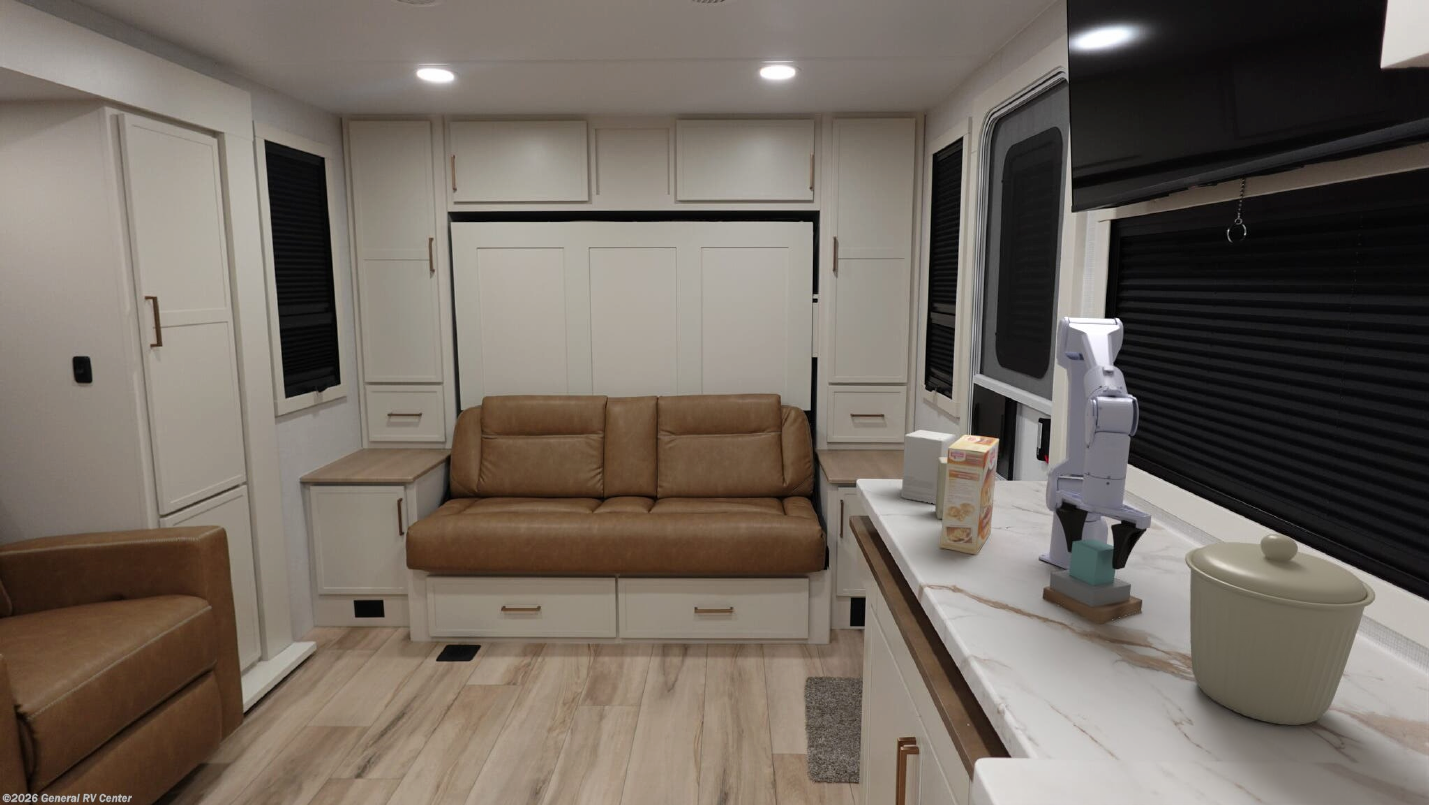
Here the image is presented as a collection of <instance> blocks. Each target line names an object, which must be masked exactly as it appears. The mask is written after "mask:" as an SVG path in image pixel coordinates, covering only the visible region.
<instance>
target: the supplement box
mask: <svg viewBox="0 0 1429 805" xmlns="http://www.w3.org/2000/svg"><path fill="white" fill-rule="evenodd" d="M956 435H957V434H953V433H946V432H945V433H944V432H940V431H939V432H937V431H930V430H924V429H919V430H915V431H913V432H909V433H907V434H905V435H904V443H903V444H904V450H903V463H902V481H901V482H902V483H901V484H902V485H901V498H902V497H903V498H902V499H906V500H911V499H913V500H912V501H916V500H917V501H916V502H921V501H924V502H923V503H926V502H928V503H927V504H931V503H933V504H932V505H936V492H937V476H938V461H939V457H948V447H950V446H951V445H952V444H953V443H955V442H956V438H957V436H956Z"/></svg>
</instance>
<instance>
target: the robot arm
mask: <svg viewBox="0 0 1429 805" xmlns="http://www.w3.org/2000/svg"><path fill="white" fill-rule="evenodd" d="M1123 324H1124V323H1123V322H1122V321H1121V320H1120V318H1117V317H1114V318H1095V317H1094V318H1090V317H1088V318H1086V317H1068V316H1063V317H1062V318H1061V319H1059V322H1058V325H1057V333H1056V352H1055V354H1056V359H1057V360H1056V361H1057V362H1056V364H1057V365H1058V366H1059V367H1061V368H1063V369H1064V370H1066V376H1067V383H1068V384H1067V385H1068V389H1067V390H1068V391H1067V412H1066V413H1067V415H1066V436H1065V437H1066V442H1065V459H1063V460H1062V461H1060V462H1059V463H1056V464H1055V465H1054V466H1052V467H1051V468H1050V470H1049V472H1048V474H1047V475H1048V476H1047V481H1046V488H1045V506H1046V508H1047V509H1048V510H1049V511H1050V512H1053V514H1052V523H1051V524H1052V526H1051V537H1050V545H1049V552H1048V553H1045V554H1040V555H1038V556H1037V557H1038V559H1040V560H1042V561H1043V562H1047V563H1050V564H1052V565H1054V566H1057V567H1060V568H1062V569H1063V570H1069V569H1070V561H1071V552H1072V544H1073V542H1074V541H1080V540H1086V539H1092V538H1093V539H1096V540H1098V541H1101V542H1104V543H1106V544H1108V537H1109V526H1108V523H1107V521H1106V520H1105V518H1104V517H1106V518H1110V519H1113V520H1115V521H1119V522H1120V523H1115V524H1111V525H1110V528H1111V529H1110V530H1111V534H1112V541H1113V544H1112V546H1113V557H1112V568H1113V569H1115V571H1116V570H1121V569H1124V568H1125V567H1126V565H1127V562H1128V559H1129V557H1130V555H1131V553H1132V551H1133V549H1134V547H1135V546H1136V544H1137V543H1138V541H1139V540H1140V539H1141V538H1142V536H1143V535H1144V534H1145V533H1146V531H1147V530H1148V529H1149V528H1151V521H1152V514H1149V513H1146V512H1143V511H1140V510H1139V509H1136V508H1134V507H1132V506H1130V505H1128V504H1125V503H1124V499H1125V498H1124V497H1125V487H1126V479H1127V478H1126V477H1127V470H1128V462H1129V461H1128V460H1129V452H1130V445H1131V444H1130V443H1131V437H1133V436H1135V434H1136V433H1137V429H1138V423H1139V416H1140V415H1139V411H1140V409H1139V403H1138V399H1137V397H1135V396H1133V395H1132V394H1129V393H1128V390H1127V386H1126V382H1125V378H1124V373H1123V372H1122V371H1121V370H1120V369H1119V368H1118V367H1117V366H1115V365H1114V363H1115V361H1116V358H1117V356H1118V354H1119V351H1120V350H1121V348H1122V344H1123V339H1124V325H1123ZM1070 477H1071V478H1070Z"/></svg>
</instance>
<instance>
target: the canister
mask: <svg viewBox="0 0 1429 805" xmlns="http://www.w3.org/2000/svg"><path fill="white" fill-rule="evenodd" d="M1298 550H1299V547H1298V544H1297V542H1296V541H1295V540H1294V539H1293V538H1291V537H1290V536H1287V535H1284V534H1279V533H1271V534H1267V535H1265V536H1263V537H1262V539H1261V540H1260V544H1259V543H1249V542H1229V541H1227V542H1218V543H1210V544H1207V545H1205V546H1201V547H1198V548H1194V549H1192V550H1190V551H1188V552H1187V553H1186V554H1185V556H1184V560H1185V564H1186V566H1187V567H1188V568H1189V570H1190V579H1189V580H1190V585H1189V586H1190V587H1189V588H1190V589H1189V591H1190V592H1189V593H1190V596H1189V598H1190V600H1189V601H1190V610H1189V611H1190V613H1189V614H1190V617H1189V618H1190V619H1189V620H1190V631H1189V632H1190V660H1191V668H1192V670H1191V671H1192V672H1193V673H1192V674H1193V676H1194V680H1195V682H1196V683H1197V684H1198V686H1199V687H1200V689H1201V691H1203V692H1204V693H1205V694H1206V696H1208V697H1210V698H1211V699H1212V700H1213V701H1215V702H1217V703H1218V704H1219V705H1221V706H1224V707H1225V708H1226V709H1229V710H1231V711H1233V712H1235V713H1238V714H1241V715H1243V716H1244V717H1245V716H1246V717H1250V718H1251V719H1253V720H1254V719H1255V720H1259V721H1261V722H1267V723H1269V724H1270V723H1271V724H1279V725H1289V726H1292V725H1295V726H1300V725H1307V724H1309V723H1313V722H1315V721H1317V720H1319V719H1320V718H1322V717H1323V716H1324V715H1325V714H1326V712H1327V711H1328V710H1329V709H1330V708H1331V705H1332V704H1333V700H1334V699H1335V695H1336V692H1337V690H1338V687H1339V685H1340V683H1341V681H1342V680H1341V679H1342V676H1343V674H1344V672H1345V668H1346V666H1347V662H1348V660H1349V656H1350V654H1351V650H1352V648H1353V645H1354V642H1355V639H1356V635H1357V634H1358V629H1359V627H1360V624H1361V621H1362V616H1363V613H1364V611H1365V608H1366V607H1368V606H1370V605H1371V604H1372V603H1373V602H1374V601H1375V600H1376V593H1375V591H1374V590H1373V588H1372V587H1371V586H1370V585H1368V583H1367V582H1365V581H1363V580H1362V579H1360V578H1359V577H1358V576H1357V575H1355V574H1354V573H1353V572H1351V571H1350V570H1348V569H1346V568H1344V567H1342V566H1340V565H1338V564H1337V563H1336V564H1335V562H1332V561H1329V560H1327V559H1325V558H1320V557H1318V556H1314V555H1311V554H1308V553H1305V552H1301V551H1298Z"/></svg>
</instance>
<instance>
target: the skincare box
mask: <svg viewBox="0 0 1429 805" xmlns="http://www.w3.org/2000/svg"><path fill="white" fill-rule="evenodd" d="M946 468H947V457H939V461H938V476H937V492H936V504H935V509H934V510H935V515H936V517H937V519H939V520H940V519H943V506H944V495H945V482H946Z"/></svg>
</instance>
